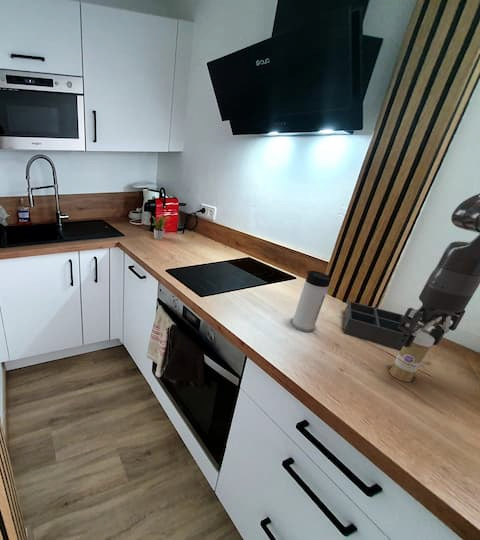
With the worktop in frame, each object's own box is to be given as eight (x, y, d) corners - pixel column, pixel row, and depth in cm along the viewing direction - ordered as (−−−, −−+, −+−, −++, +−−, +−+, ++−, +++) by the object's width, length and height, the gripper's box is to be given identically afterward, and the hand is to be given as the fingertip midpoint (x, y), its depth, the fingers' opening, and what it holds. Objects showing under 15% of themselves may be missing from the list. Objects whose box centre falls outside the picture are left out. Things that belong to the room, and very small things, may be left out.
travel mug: (288, 320, 100) (304, 268, 92) (308, 323, 99) (327, 270, 91) (294, 330, 94) (312, 276, 86) (316, 333, 93) (336, 278, 85)
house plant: (174, 242, 179) (177, 216, 172) (154, 243, 175) (156, 217, 169) (165, 235, 192) (167, 211, 185) (146, 236, 188) (147, 212, 181)
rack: (396, 328, 97) (403, 314, 95) (403, 351, 86) (411, 336, 84) (343, 314, 105) (348, 300, 103) (343, 333, 94) (349, 318, 92)
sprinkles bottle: (388, 376, 76) (410, 335, 71) (388, 367, 79) (409, 327, 74) (412, 385, 73) (436, 343, 68) (410, 375, 77) (434, 334, 71)
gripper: (443, 296, 61) (410, 356, 68) (495, 293, 63) (458, 351, 70) (406, 281, 68) (379, 337, 74) (454, 279, 70) (424, 333, 77)
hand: (417, 344), depth 72 cm, fingers open, 8 cm apart
